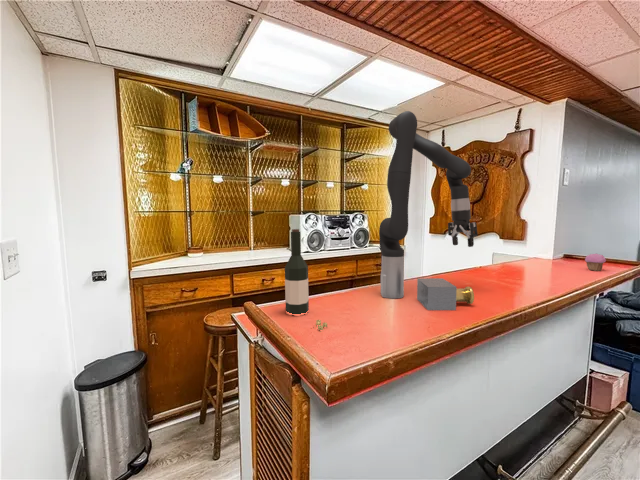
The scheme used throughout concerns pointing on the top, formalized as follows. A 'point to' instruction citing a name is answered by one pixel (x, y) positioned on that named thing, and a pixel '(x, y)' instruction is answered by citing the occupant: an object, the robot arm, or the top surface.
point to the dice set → (318, 322)
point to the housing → (436, 294)
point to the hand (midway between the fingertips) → (462, 245)
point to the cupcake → (595, 261)
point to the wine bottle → (296, 278)
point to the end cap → (465, 295)
